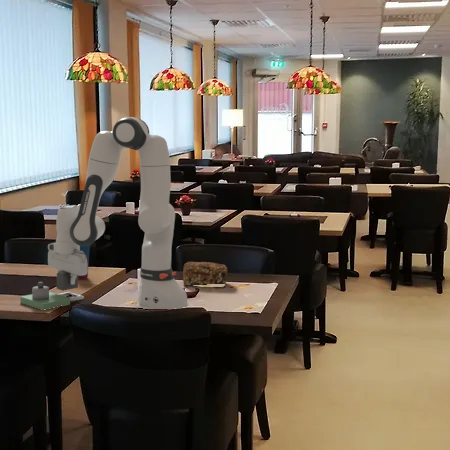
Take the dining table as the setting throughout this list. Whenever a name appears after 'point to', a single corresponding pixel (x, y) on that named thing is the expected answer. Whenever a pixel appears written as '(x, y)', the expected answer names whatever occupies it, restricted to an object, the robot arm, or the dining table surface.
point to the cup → (86, 252)
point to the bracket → (75, 298)
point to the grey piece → (65, 281)
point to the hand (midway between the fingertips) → (67, 282)
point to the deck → (46, 303)
